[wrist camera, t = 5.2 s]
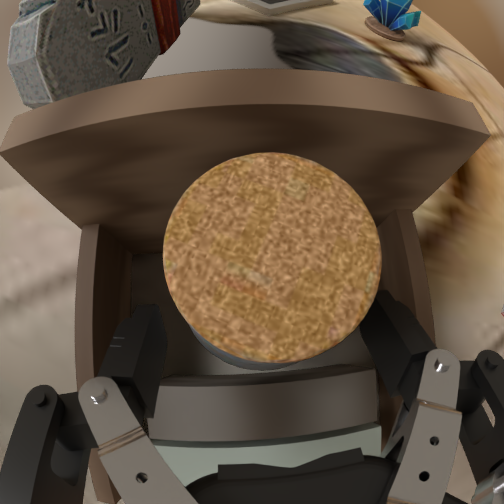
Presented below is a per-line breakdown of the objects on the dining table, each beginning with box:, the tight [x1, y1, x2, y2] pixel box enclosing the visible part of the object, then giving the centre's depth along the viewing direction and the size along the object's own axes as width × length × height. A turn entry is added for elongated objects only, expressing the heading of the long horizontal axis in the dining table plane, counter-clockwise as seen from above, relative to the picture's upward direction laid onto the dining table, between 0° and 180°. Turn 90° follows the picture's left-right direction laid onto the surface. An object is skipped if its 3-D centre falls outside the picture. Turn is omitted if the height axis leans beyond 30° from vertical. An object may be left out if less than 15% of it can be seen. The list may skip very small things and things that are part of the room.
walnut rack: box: [0, 69, 491, 504], centre depth 13 cm, size 21×19×14 cm
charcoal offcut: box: [147, 364, 377, 441], centre depth 16 cm, size 12×3×6 cm, turn 94°
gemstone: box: [363, 0, 421, 41], centre depth 29 cm, size 7×9×12 cm
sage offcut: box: [150, 422, 381, 487], centre depth 15 cm, size 14×3×4 cm, turn 93°
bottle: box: [163, 152, 382, 371], centre depth 13 cm, size 6×6×15 cm
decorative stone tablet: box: [8, 0, 200, 109], centre depth 20 cm, size 19×6×30 cm
